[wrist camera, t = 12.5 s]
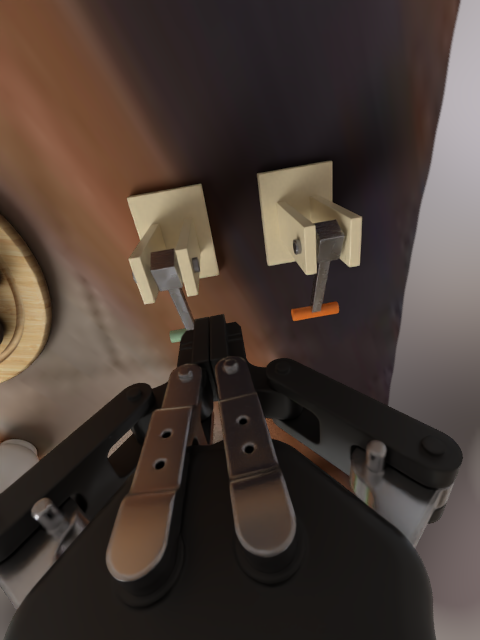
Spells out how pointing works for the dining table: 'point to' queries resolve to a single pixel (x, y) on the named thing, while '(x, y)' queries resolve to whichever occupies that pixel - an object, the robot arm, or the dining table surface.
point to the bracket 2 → (303, 215)
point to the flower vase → (15, 460)
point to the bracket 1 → (172, 236)
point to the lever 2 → (322, 270)
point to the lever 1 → (171, 286)
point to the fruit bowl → (21, 304)
